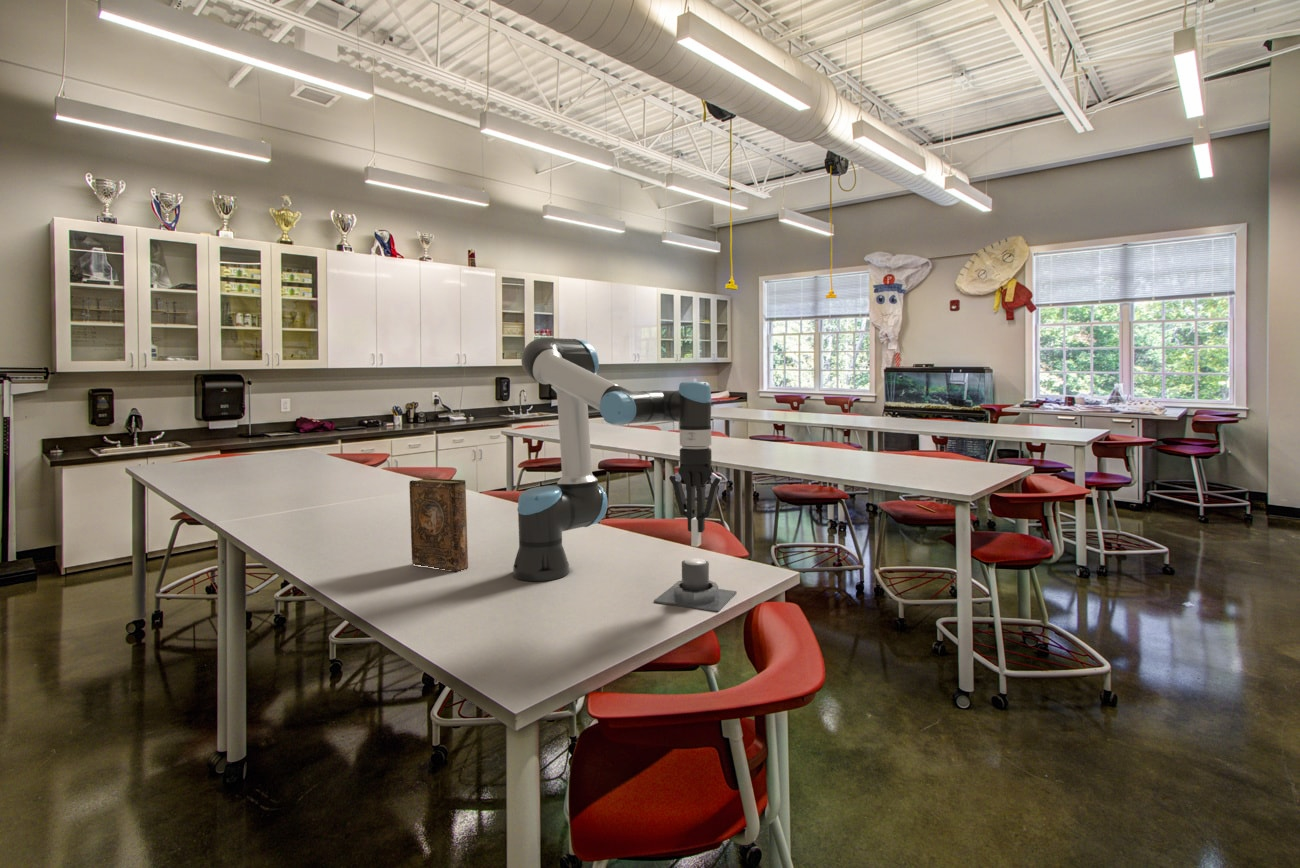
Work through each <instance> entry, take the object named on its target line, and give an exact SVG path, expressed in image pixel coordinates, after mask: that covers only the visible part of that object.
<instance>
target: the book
mask: <svg viewBox="0 0 1300 868" xmlns="http://www.w3.org/2000/svg"><path fill="white" fill-rule="evenodd" d="M408 487H409V508H410V509H409V513H410V537H411V539H410V542H411V545H410V546H411V562H412V565H413V564H415V565H421V566H428V567H434V568H439V569H445V570H451V571H460V572H462V571H461V570H464V569H466V568H468V569H469V554H468V549H469V547H468V524H467V522H468V520H467V519H468V517H467V516H468V515H467V492H466V491H467V488H466V487H467V486H466V480H465V479H453V478H452V479H450V478H435V477H434V478H431V477H423V478H422V479H418V480H410V481H409V486H408ZM466 570H467V569H466ZM451 571H450V572H451ZM464 571H465V570H464Z"/></svg>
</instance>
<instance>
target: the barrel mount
mask: <svg viewBox="0 0 1300 868" xmlns="http://www.w3.org/2000/svg"><path fill="white" fill-rule="evenodd" d="M736 594H738V593H737V590H729V589H724V588H723V589H722V588H719V585H718V583H716V582H715V581H712V580H710V579H709V589H708V590H704V591H690V590H685V589H682V579H680V580H677V581H676V582H675V583H674V584H673V585H672V586H671V587H670V588H668V589H667V590H665V591H664V592H663V593H662V594H660V595H659V596H657V597H656V598H655V599H654V600H653V603H654V604H661V605H670V606H676V607H683V608H689V609H690V608H691V609H695V608H696V610H702V609H704V610H703V611H708V610H712V611H711V612H715V611H718V612H717V613H719V612H720V611H721V610H722V609H723V608H724V607H725V606H726V604H728V603H729V601H731V599H732V598H734V596H736Z"/></svg>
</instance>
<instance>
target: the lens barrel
mask: <svg viewBox="0 0 1300 868" xmlns="http://www.w3.org/2000/svg"><path fill="white" fill-rule="evenodd" d="M709 569H710V562H709V561H708V560H706V559H702V558H695V557H694V558H692V557H691V558H686V559H684V560H682V561H681V580H682V589H685V590H690V591H704V590H708V589H709V580H710V570H709Z"/></svg>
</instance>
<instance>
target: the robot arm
mask: <svg viewBox="0 0 1300 868" xmlns="http://www.w3.org/2000/svg"><path fill="white" fill-rule="evenodd" d="M520 360H521V366H522V369H523V371H524V372H525V374H526V375H527V376H528V377H530V379H532V380H533V381H536V382H537V383H539V384H541V385H550V388H551V389H552V390H553V391H554V392H555V393H556V400H557V402H556V403H557V413H558V414H557V416H558V431H559V434H558V435H559V445H560V446H559V448H560V463H561V465H560V466H561V477H560V479H559V480H557V482H556V484H557V485H543V486H536V487H532V488H528V489H526V490H524V491H523V492H521V493H520V494H519V496H518V500H517V502H518V503H517V509H516V510H517V515H518V520H517V521H518V550H517V552H516V556H515V558H514V564H513V567H512V573H513V574H512V575H513V577H514V578H516V579H518V580H520V581H521V580H522V581H527V582H545V581H552V580H557V579H560V578H563V577H565V576H567V575H568V574H569V573H570V563H569V561H568V557H567V554H566V552H565V549H564V546H563V532H567V531H571V530H575V529H580V528H587V527H590V526H592V525H597V524H598V523H599V522H601V521H602V519H603V518H604V517H605V515H606V513H607V510H608V504H609V502H608V497H607V496H608V495H607V493H606V492H605V489H604V488H603V487H602V486H601V485H599V481H598V478H597V477H596V476H595V475H594V474H593V469H592V453H591V435H590V425H589V424H590V422H589V408H588V407H589V406H590V407H592V408H593V409H596V410H597V411H599V412H600V415H601V417H602V419H603V421H604V422H606V423H607V424H610V425H618V426H619V425H620V426H623V425H628V424H641V423H657V422H679V423H678V425H679V427H678V428H679V446H681V448H680V449H679V468H678V471H677V472H676V473H674V474H672V475H670V476H669V481H670V482H671V484H672V486H673V489H674V493H675V494H674V495H675V497H676V502H677V507H678V510H679V511H678V513H679V515H680V516H683V517H686V518H687V531H688V532H689V533H691V534H690V535H691V537H690V538H691V541H690V542H691V543H690V544H691V545H690V546H691V547H696V548H698V547H699V546H701V545H702V533H704V532H705V529H706V527H705V525H706V524H705V523H706V521H705V520H706V518H709V517H711V516H712V515H713V514H714V513H713V512H714V508H715V505H716V500H717V495H718V490H719V486H720V485H721V484H722V482H723V480H724V479H723V477H722V476H718V475H717V474H716V473H715V472H714V470H713V469H714V468H713V467H712V449H711V448H710V447H711V446H712V426H711V425H712V424H711V422H712V401H713V400H712V392H711V384H710V383H709V382H707V381H688V382H687V381H686V382H684V381H682V382H680V383H679V384H678V385H679V386H678V389H677V390H659V389H658V390H657V389H656V390H629V389H627V388H624V387H622V386H620V385H618V384H617V383H614V382H612V381H610V380H608V379H606V378H604V377H603V376H600V375H598V374H597V373H598V371H599V367H600V366H599V365H600V361H599V356H598V353H597V351H596V349H595V348H594V346H592V345H591V343H590V342H589V341H586V340H582V339H576V338H556V337H555V338H554V337H553V338H552V337H540V338H536V339H534V340H531V341H530V342H529V343H528V344H527V345H525V347H524V349H523V351H522V353H521V359H520ZM682 480H683V482H684V483H685V490H686V496H685V493H684V488H683V483H682ZM709 481H710V483H711V484H710V487H709V491H708V496H707V501H706V488H707V486H706V485H707V484H708V482H709ZM696 511H697V512H696Z"/></svg>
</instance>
